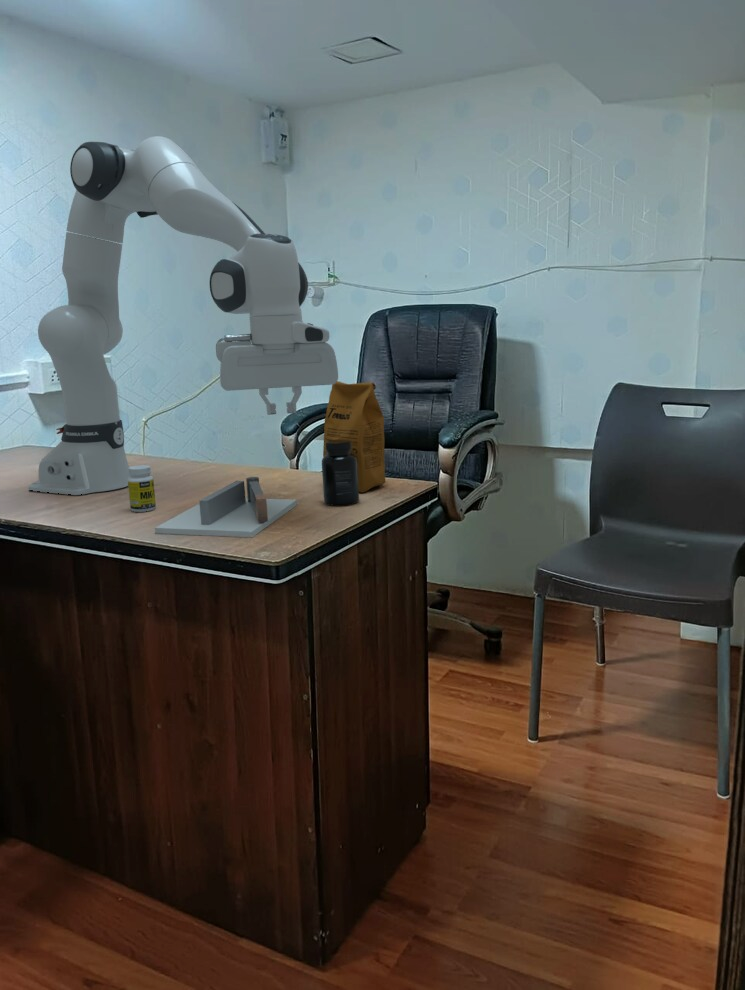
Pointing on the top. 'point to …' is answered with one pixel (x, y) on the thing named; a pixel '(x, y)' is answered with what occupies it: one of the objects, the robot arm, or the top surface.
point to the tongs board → (226, 514)
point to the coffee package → (358, 429)
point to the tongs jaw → (258, 501)
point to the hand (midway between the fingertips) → (281, 413)
